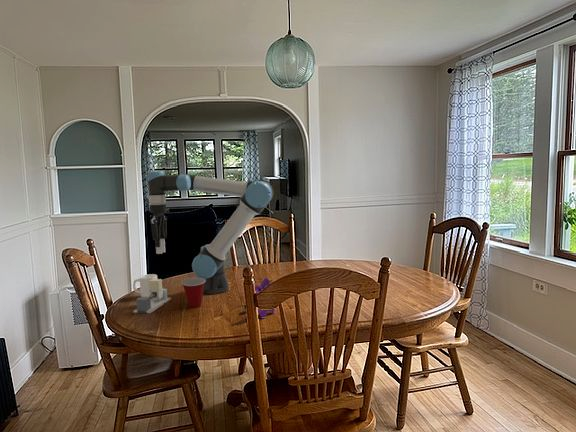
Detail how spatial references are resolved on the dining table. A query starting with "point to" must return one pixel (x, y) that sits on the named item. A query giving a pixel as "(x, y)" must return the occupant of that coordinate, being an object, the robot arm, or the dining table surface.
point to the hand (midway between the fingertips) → (160, 252)
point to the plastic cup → (194, 291)
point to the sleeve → (156, 288)
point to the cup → (144, 284)
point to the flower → (258, 289)
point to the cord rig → (150, 303)
